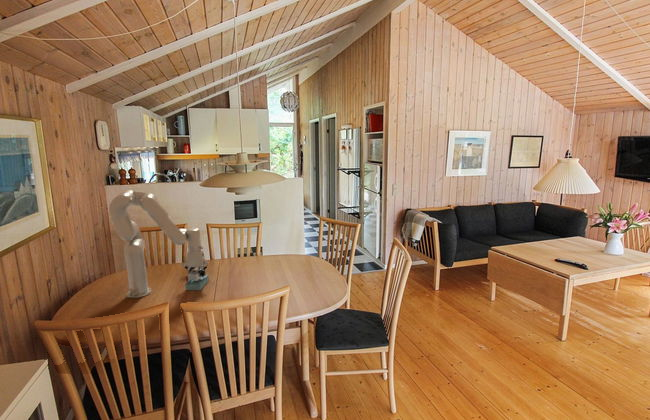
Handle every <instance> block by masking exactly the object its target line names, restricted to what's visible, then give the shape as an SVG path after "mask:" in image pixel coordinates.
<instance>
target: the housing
mask: <svg viewBox="0 0 650 420" xmlns="http://www.w3.org/2000/svg"><path fill="white" fill-rule="evenodd" d="M206 270H207V269H205V276H206V275H207V273H206V272H207V271H206ZM201 271H202V269H201V268H200V267H197V268H195V269H193V270H191V271H189V273H188V272H187V279H188V280H187V281H189V280H194V281H197V280H199V279H201V278H202V272H201Z"/></svg>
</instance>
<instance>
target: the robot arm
mask: <svg viewBox="0 0 650 420" xmlns="http://www.w3.org/2000/svg"><path fill="white" fill-rule="evenodd" d="M131 206H137V207H140V208H141V209H142V210H143V211H144V212H145V213H146V214H147V215H148V216H149V217H150V218H151V219H152V220H153V222H155V223H156V225H157V226H158V227H159V229H160V230H161V231H162V232H163V234H164V235H165V236H166V237H167V238H168V239H169V240H170V241H171V242H172V243H173V244H175V245H177V246H182V245H184V244H185V243H186V242H187V251H186V261H184V262H185V263H184V262H182V267H183V268H185V269H186V270H187V274H188V273H189V271H191V270H192V269H191V267H200V268H201V269H202V271H201V272H202V277H204V276H206V275H205V270H207V268H208V267H209V266H210V262H208V261H207V260H206V258H205V252H204V246H202V243H201V240H202V239H201V231H200V229H199V227H198V228H197V227H191V228H178V226H177V225H176V224H175V223H174V221H173V219H172V216H171V215H170V213H169V211H167V210H166V209H165V208H164V207H163V205H161V204H160V202H158V198H157V196H156V195H155V194H153V193H150V192H145V191H136V190H130V189H128V190H127V189H126V190H123V191H121V192H120V193H118V194H117V195H116V196H115V197H114V198H113V199H112V200H111V201H110V204H109V207H108V210H109V211H108V212H109V216H110V217H111V218H110V219H111V220H112V222H113V226H114V228H115V230H116V232H117V235H118V237H119V238H120V240H122V241H124V242H125V246H124V249H123V255H124V260H125V264H126V271H127V280H128V285H129V286H128V287H129V291H128V292H127V293H126V295H125V297H126V298H131V299H138V298H142V297H145V296H148V295H150V294H151V293H152V288H151V287H149V285H148V277H147V276H148V275H147V269H146V267H147V266H146V261H145V260H146V259H145V254H144V251H145V248H146V242H145V240H144V237H143V234H142V232H141V230H140V228H139V227H140V226H139V225H138V223H136V222H135V221H133V220H131V217H130V214H129V211H128V208H129V207H131Z"/></svg>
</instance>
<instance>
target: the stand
mask: <svg viewBox="0 0 650 420" xmlns="http://www.w3.org/2000/svg"><path fill="white" fill-rule="evenodd" d="M209 280H210V279H209V274H206V275H205V276H204V277H202V278H201V279H199V280H197V281H194V280H187V282H186V283H185V284H184V285H185V290H186V291H202V290H203V288H204V287H205V286H206V285H207V284H208V283H209Z"/></svg>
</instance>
